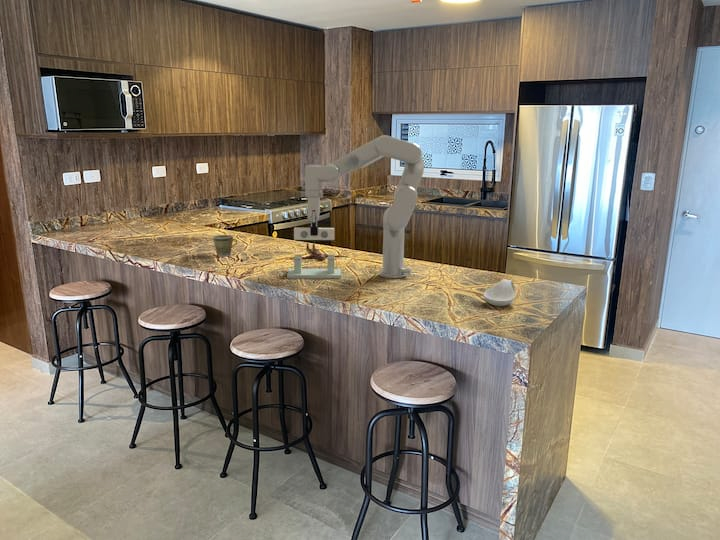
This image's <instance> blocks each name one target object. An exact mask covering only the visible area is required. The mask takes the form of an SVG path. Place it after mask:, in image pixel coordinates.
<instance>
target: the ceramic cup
mask: <svg viewBox="0 0 720 540" xmlns="http://www.w3.org/2000/svg"><path fill="white" fill-rule="evenodd" d="M212 239H213V244H214V248H215V251H216V256H217V257H218V258H225V257H226V256H228V257H231V254H232V249H233V247H234V246H236V245H237V244H238V240H237V238H234V236H233V235H229V234H217V235H214V236H213V237H212ZM233 241H235V243H234V244H233Z"/></svg>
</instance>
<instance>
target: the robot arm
mask: <svg viewBox="0 0 720 540" xmlns="http://www.w3.org/2000/svg"><path fill="white" fill-rule="evenodd" d="M422 154H423V153H422V148H421V146H420V145H418V143H414V142H410V141H407V140H403V139H400V138H396V137H393V136H390V135H387V134H386V135H385V134H383V135H380V136H378V137H375V138H374V139H372V140H371V141H368V142H367V143H364V144H363V145H361V146H359V147H356V149H354V150H352V151H350V152H349V153H348V154H347V153H346V154H345V155H343V156H342V157H340V158H337V159H336V160H334V161H332V162H330V163H328V164H327V165H319V164H308V165H306V166H305V169H304V170H305V171H304V172H305V175H304V176H305V177H304V178H305V197H306V198H307V220H308V221H309V220H310V226H309V228H311V236H317V235H318V228H319V224H318V221H319V219H320V211H321V198H323V197H324V195H323V194H324V193H323V192H324V191H323V189H324V187H323V186H324V183H328V184H332V183H333V184H334V183H336V182H338V180H340V178H341V177H343V176H346V175H347V174H349V173H350V172H352V171H353V172H354V171H356V170H359V169H360V170H361V169H363V168H365V167H367V166H369V165H372V164H373V163H375V162H376V161H378V160H380V159H382V158H384V157H387V158H390V159H393V160H397V161H400V162H403V163H404V168H403V172H402V174H401V177H400V179H399V181H398V184H397V186H396V188H395V189H394V192H393V202H392V204H391V206H389V207H388V208H386V209H385V211H384V213H383V217H382V218H383V219H382V220H383V221H382V224H383V227H382V228H383V229H382V230H383V231H382V232H383V235H382V236H383V239H382V241H383V243H382V269H380V271H379V272H378V275H379V276H380V277H383V278H387V279H400V278H405V277H406V276H407V275H411V274H412V269H411V268H407V267H406V265H404V261H405V259H404V257H405V256H404V255H405V229H406V226H407V225H408V223H409V221H410V218H411V217H412V214H413V212H414V209H415V207H416V205H417V202H418V199H419V198H418V192H417V190H418V188H419V186H420V183H421V179H422V178H423V175H424V172H425V171H424V169H425V164H424V158H423V155H422ZM323 182H324V183H323Z"/></svg>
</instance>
